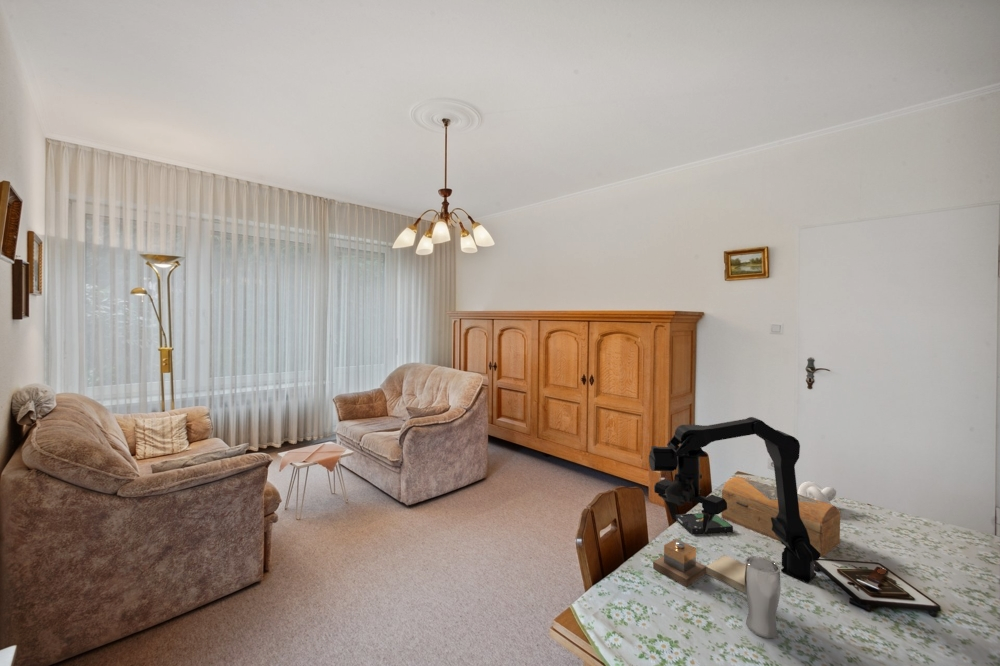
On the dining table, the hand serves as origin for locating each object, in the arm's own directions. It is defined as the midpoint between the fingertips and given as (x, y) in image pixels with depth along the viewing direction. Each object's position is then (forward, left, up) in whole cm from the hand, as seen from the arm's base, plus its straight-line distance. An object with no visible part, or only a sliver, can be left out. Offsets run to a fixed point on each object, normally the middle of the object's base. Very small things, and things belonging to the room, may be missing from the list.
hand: (689, 525), depth 115 cm
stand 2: (-9, -7, -13) cm, 17 cm away
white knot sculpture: (-7, -76, -13) cm, 77 cm away
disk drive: (+10, -27, -13) cm, 32 cm away
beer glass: (-22, +8, -13) cm, 27 cm away
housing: (+1, +3, -11) cm, 11 cm away
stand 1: (+1, +3, -13) cm, 13 cm away
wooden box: (-6, -46, -13) cm, 48 cm away
